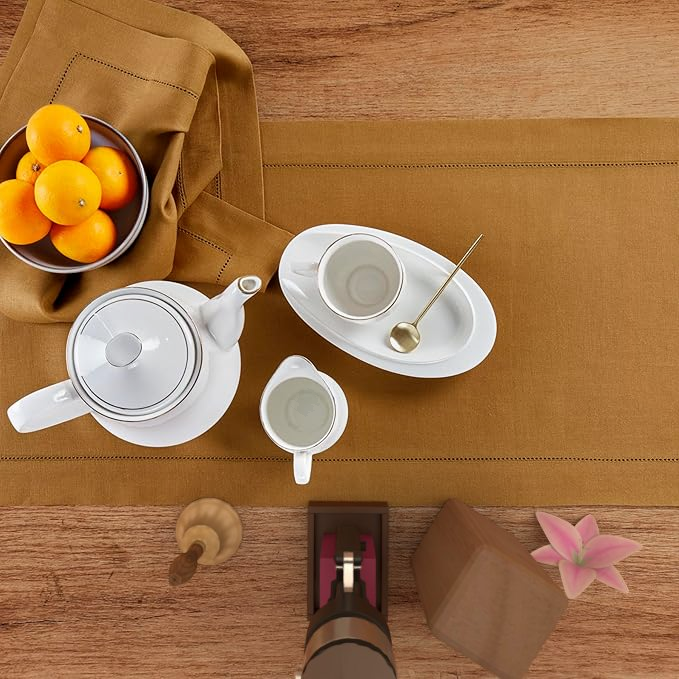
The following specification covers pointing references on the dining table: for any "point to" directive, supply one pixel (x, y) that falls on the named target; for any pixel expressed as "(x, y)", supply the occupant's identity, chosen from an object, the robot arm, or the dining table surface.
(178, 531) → the hand bell
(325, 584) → the pink block
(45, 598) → the dining table surface
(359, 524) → the tray
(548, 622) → the wooden block
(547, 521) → the lily
